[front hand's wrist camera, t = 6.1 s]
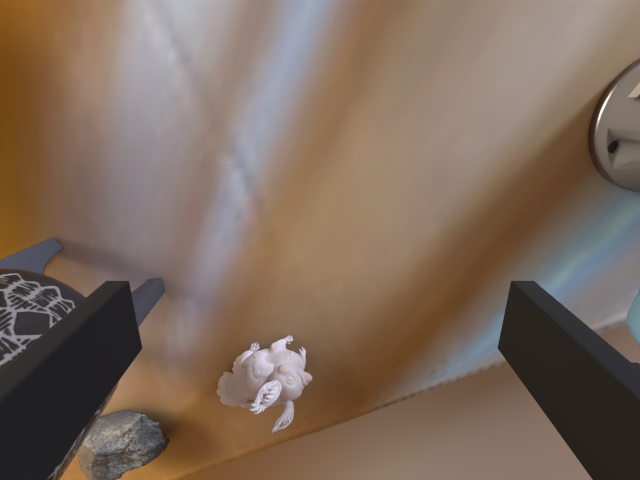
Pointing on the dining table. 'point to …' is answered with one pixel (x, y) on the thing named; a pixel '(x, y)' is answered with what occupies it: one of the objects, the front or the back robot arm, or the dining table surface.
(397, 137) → the dining table surface
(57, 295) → the planter
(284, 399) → the figurine
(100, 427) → the rock
